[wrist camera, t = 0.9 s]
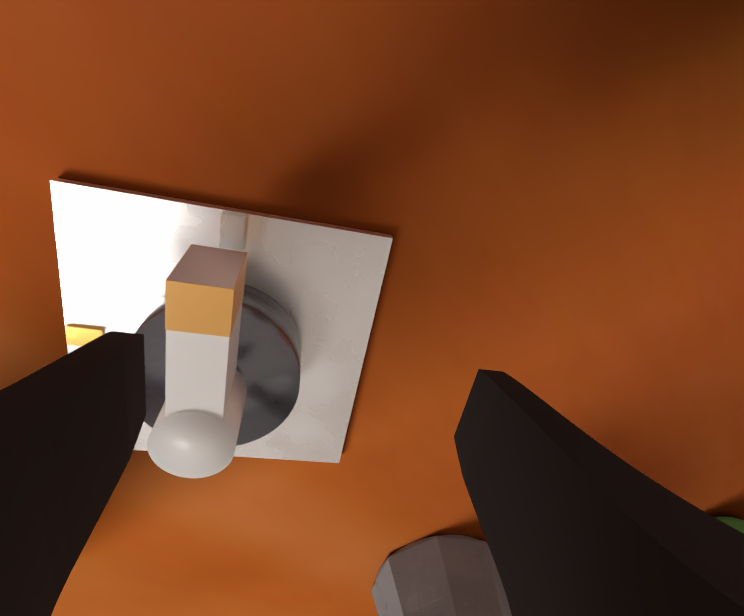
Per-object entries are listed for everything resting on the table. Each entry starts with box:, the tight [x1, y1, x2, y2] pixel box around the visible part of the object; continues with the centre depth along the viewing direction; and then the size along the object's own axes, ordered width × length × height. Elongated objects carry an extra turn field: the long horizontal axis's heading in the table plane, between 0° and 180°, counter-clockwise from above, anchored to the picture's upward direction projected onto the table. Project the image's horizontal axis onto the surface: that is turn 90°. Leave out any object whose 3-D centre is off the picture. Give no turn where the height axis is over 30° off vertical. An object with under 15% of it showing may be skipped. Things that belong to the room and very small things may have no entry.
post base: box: [50, 178, 393, 463], centre depth 19 cm, size 13×13×3 cm
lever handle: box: [147, 244, 248, 478], centre depth 15 cm, size 7×3×3 cm, turn 168°
